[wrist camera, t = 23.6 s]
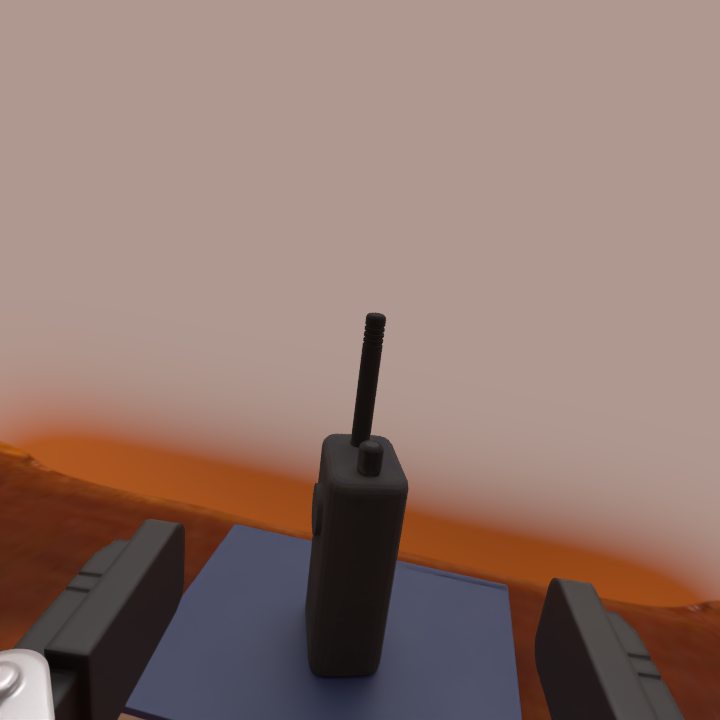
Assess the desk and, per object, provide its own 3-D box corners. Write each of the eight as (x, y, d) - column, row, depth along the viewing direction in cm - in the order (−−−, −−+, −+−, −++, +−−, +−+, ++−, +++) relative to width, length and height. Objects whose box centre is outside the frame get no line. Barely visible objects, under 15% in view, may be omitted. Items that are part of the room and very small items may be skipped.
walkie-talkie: (382, 677, 23) (438, 341, 18) (303, 680, 22) (341, 333, 18) (365, 595, 27) (407, 309, 23) (299, 595, 27) (328, 303, 22)
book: (495, 633, 30) (507, 585, 29) (513, 890, 19) (533, 824, 18) (232, 570, 33) (235, 523, 32) (107, 765, 21) (105, 700, 20)
